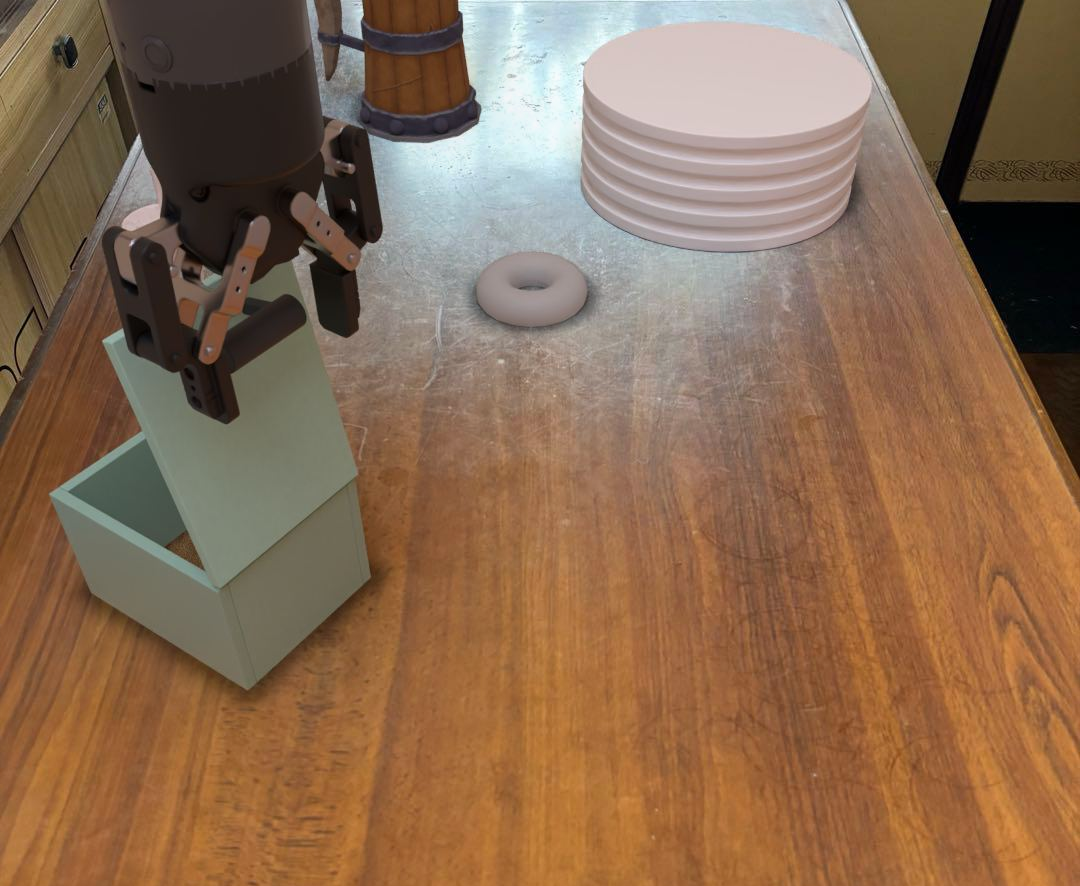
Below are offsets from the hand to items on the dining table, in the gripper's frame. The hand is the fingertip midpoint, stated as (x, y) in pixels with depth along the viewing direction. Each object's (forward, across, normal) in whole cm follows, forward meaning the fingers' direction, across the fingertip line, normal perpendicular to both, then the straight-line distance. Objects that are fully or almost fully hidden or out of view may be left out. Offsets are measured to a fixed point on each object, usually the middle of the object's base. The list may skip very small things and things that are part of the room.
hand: (282, 371), depth 55 cm
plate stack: (+22, -70, -10) cm, 75 cm away
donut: (+22, -40, -13) cm, 48 cm away
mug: (+23, -66, -49) cm, 85 cm away
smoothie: (+23, -21, -37) cm, 48 cm away
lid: (+5, 0, -4) cm, 6 cm away
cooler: (+22, 0, -10) cm, 24 cm away
